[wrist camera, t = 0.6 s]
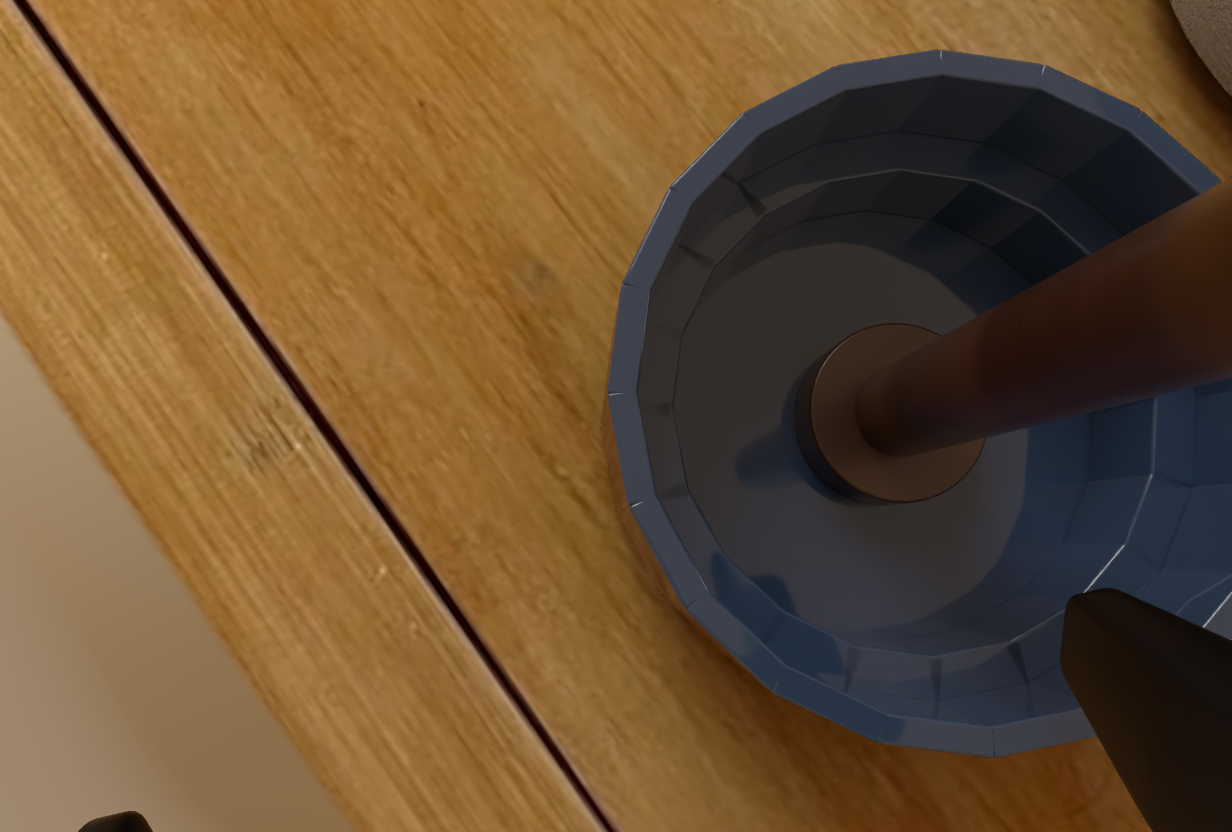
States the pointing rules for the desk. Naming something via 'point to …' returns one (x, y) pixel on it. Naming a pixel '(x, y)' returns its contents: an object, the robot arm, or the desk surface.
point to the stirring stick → (1025, 359)
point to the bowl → (939, 301)
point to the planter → (1209, 34)
